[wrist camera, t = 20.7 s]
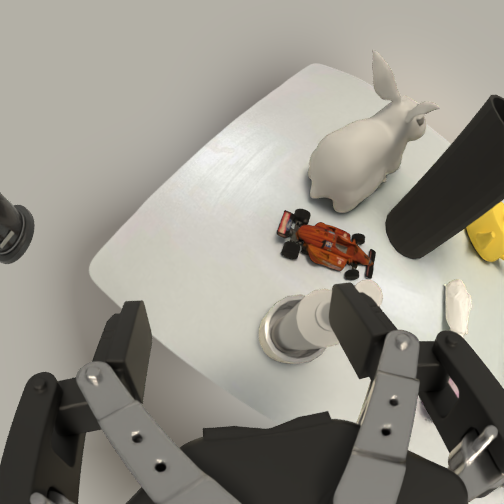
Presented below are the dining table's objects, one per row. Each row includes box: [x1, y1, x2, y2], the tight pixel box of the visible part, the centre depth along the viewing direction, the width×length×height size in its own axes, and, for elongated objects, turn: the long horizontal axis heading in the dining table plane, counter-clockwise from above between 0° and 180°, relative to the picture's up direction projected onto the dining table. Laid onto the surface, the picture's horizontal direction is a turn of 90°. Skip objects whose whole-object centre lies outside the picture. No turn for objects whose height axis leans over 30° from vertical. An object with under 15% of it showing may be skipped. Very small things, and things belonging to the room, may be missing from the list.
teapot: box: [466, 202, 504, 262], centre depth 46 cm, size 14×13×10 cm
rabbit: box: [308, 50, 440, 213], centre depth 40 cm, size 12×21×25 cm, turn 122°
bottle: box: [271, 279, 383, 353], centre depth 29 cm, size 5×5×25 cm
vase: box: [386, 95, 504, 259], centre depth 35 cm, size 10×10×30 cm
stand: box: [259, 295, 327, 364], centre depth 38 cm, size 8×8×7 cm
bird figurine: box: [444, 279, 472, 337], centre depth 41 cm, size 5×7×10 cm
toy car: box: [277, 209, 376, 280], centre depth 44 cm, size 8×16×4 cm, turn 70°
